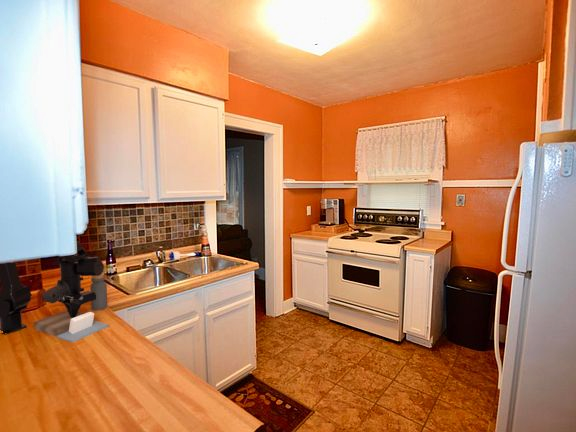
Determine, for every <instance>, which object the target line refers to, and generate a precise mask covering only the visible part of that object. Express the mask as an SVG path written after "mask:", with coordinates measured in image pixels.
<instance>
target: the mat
mask: <svg viewBox="0 0 576 432" xmlns="http://www.w3.org/2000/svg"><path fill="white" fill-rule="evenodd" d="M108 327H110V324H109V323H105V322H101V321H97V320H93V324H92V326H90V327H88V328H85V329H83V330H81V331H78V332H76V333H74V334H72V333H70V332H69V331H68V332H65V333H63V334H60V335H58V336H56V338H57V339H60V340H63V341H67V342H69V343H75V342H77V341H79V340H81V339H83V338H86V337H89V336H91V335H93V334H95V333H97V332H100V331H101V330H103V329H106V328H108Z"/></svg>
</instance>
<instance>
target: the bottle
mask: <svg viewBox="0 0 576 432" xmlns="http://www.w3.org/2000/svg"><path fill="white" fill-rule="evenodd" d="M105 280H106V276H105V272H104V271H103V272H102V274H101V275H100V276H91V279H90V282H92V283H91V284H90V286H89V288H90V291H91V292H95V293H96V294H97V299H96V300H93V301H90V306H91V307H90V308H91V310H92V311H100V310H104V309H106V308H108V289H107V288H108V287H107V282H106V281H105Z"/></svg>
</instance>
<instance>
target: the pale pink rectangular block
mask: <svg viewBox="0 0 576 432" xmlns="http://www.w3.org/2000/svg"><path fill="white" fill-rule="evenodd" d="M84 313H85V314H83V315H80V316H77V317H75V318H72V319H71V320H70V327H69V332H70V333H72V334H74V333H76V332H78V331H81V330H83V329H85V328H88V327H90V326H92V324H93V321H94V318H95V313H94V312H92V311H89V312H84Z"/></svg>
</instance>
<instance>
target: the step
mask: <svg viewBox="0 0 576 432" xmlns="http://www.w3.org/2000/svg"><path fill="white" fill-rule="evenodd" d="M85 313H86V312H80V311H78V313H77V315H76V317H77V316H80V315H83V314H85ZM71 319H72V318H71V317H70V315H69V313H68V311H67V310H64V311H61V312H59V313H56V314H51V315H50V316H47V317H43V318H41V319H38V320H35V321H34V322H33V325H34V331H38V332H41V333H43V334H48V335H50V336H52V337H53V336H54V337H57V336H58V335H60V334H63V333H65V332H68V331H69V327H70V320H71Z"/></svg>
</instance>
